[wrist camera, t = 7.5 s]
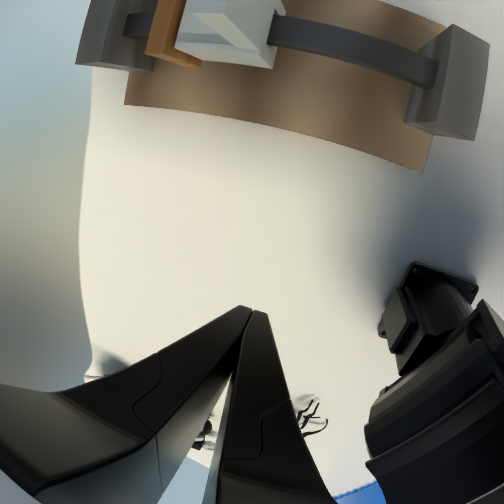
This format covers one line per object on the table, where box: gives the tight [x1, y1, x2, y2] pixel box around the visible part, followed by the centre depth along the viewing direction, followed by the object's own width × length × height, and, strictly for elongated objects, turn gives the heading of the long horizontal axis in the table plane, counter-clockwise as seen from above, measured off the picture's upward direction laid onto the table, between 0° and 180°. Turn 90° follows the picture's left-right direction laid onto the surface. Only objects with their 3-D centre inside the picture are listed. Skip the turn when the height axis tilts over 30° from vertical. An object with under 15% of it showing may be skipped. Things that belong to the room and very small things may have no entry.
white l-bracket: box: [174, 0, 286, 69], centre depth 9 cm, size 4×4×8 cm
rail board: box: [75, 0, 490, 173], centre depth 12 cm, size 20×10×7 cm, turn 79°
